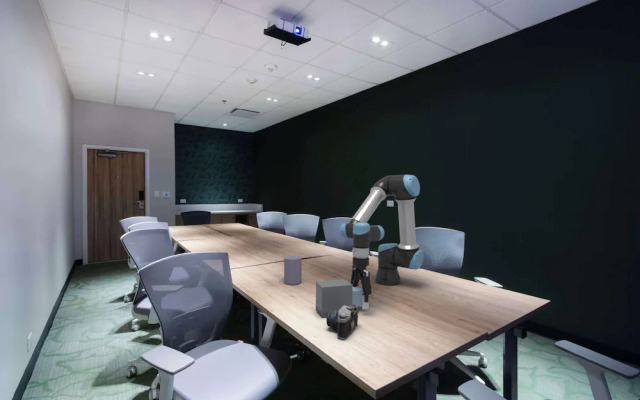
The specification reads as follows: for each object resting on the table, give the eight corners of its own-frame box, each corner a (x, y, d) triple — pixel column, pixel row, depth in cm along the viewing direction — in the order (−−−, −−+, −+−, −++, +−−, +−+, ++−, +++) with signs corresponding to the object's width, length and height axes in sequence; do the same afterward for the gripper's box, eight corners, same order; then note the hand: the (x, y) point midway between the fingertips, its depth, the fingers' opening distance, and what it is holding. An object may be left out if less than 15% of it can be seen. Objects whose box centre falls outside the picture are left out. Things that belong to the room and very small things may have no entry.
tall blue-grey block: (363, 301, 143) (363, 286, 143) (368, 304, 138) (368, 289, 138) (327, 304, 138) (327, 289, 137) (331, 309, 133) (331, 293, 133)
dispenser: (345, 307, 142) (345, 279, 142) (353, 314, 134) (353, 284, 134) (315, 310, 138) (316, 281, 138) (321, 318, 129) (322, 287, 129)
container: (304, 283, 179) (304, 258, 179) (289, 286, 173) (289, 260, 173) (295, 279, 187) (296, 255, 187) (280, 281, 182) (281, 257, 181)
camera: (336, 320, 128) (337, 296, 128) (360, 325, 124) (360, 300, 123) (320, 335, 114) (321, 309, 114) (346, 341, 109) (347, 314, 109)
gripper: (344, 252, 149) (343, 297, 149) (364, 262, 127) (363, 315, 128) (358, 251, 151) (357, 295, 152) (380, 261, 130) (379, 313, 130)
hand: (360, 304), depth 140 cm, fingers open, 10 cm apart
